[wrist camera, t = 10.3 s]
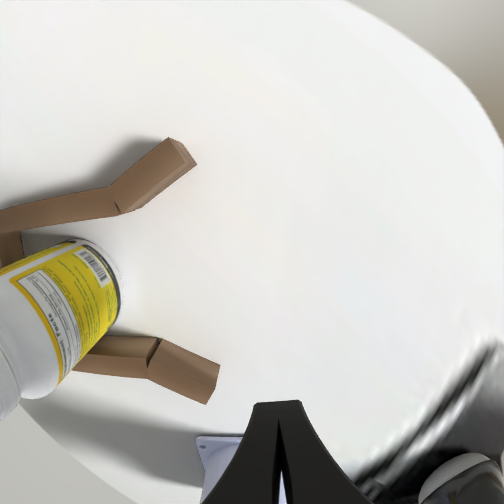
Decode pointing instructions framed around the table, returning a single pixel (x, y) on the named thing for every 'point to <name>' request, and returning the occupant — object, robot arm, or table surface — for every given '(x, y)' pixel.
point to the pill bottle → (53, 316)
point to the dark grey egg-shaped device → (464, 482)
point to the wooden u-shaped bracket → (108, 205)
